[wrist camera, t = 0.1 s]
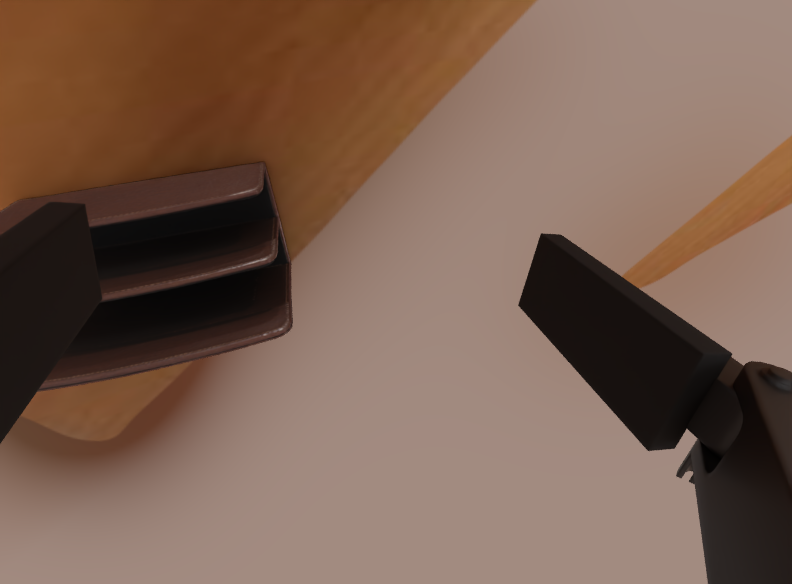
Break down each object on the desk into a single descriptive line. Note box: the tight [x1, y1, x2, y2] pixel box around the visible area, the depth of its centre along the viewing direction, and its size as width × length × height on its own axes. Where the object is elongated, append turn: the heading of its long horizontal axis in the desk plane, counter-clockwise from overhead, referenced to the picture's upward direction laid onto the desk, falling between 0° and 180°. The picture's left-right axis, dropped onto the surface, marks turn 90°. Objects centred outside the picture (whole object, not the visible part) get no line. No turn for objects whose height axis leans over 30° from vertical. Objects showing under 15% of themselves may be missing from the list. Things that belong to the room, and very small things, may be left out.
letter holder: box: [0, 162, 293, 392], centre depth 33 cm, size 10×20×14 cm, turn 97°
